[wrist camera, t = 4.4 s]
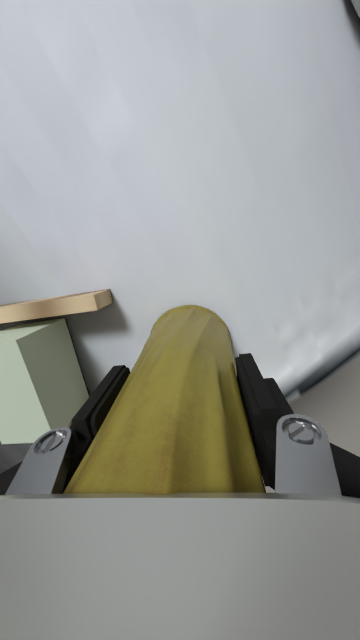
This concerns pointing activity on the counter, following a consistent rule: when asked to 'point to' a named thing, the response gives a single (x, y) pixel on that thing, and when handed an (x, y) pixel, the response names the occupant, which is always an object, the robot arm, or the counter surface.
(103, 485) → the vase
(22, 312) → the track
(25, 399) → the block
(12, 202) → the counter surface
